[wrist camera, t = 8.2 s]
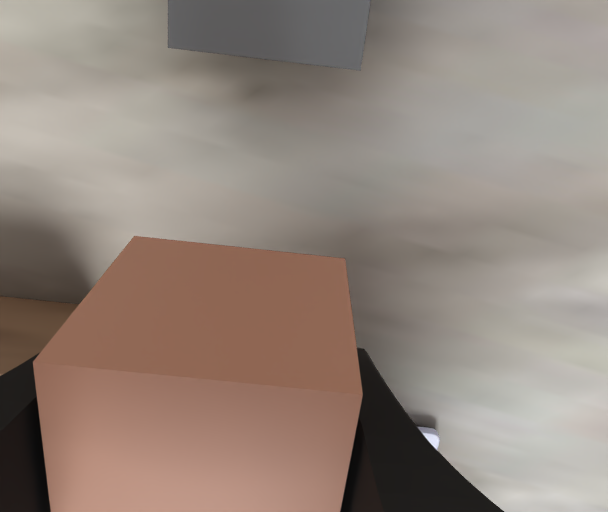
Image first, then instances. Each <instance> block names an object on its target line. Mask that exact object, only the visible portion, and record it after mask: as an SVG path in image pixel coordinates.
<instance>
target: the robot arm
mask: <svg viewBox="0 0 608 512" xmlns="http://www.w3.org/2000/svg"><path fill="white" fill-rule="evenodd" d="M40 353H41V352H40ZM40 353H38V354H37V355H35V356H33V357H32V358H30V359H28V360H27V361H25V362H24V363H22V364H20V365H19V366H17V367H15V368H13V369H12V370H10V371H8V372H6V373H5V374H3V375H1V376H0V512H51V509H50V501H49V493H48V484H47V476H46V468H45V459H44V451H43V443H42V435H41V426H40V418H39V410H38V401H37V393H36V385H35V377H34V368H33V361H34V360H35V359H36V357H37V356H38V355H39V354H40ZM357 354H358V362H359V369H360V377H361V385H362V392H363V396H362V402H361V407H360V412H359V417H358V422H357V427H356V433H355V438H354V443H353V448H352V453H351V458H350V463H349V469H348V474H347V479H346V484H345V489H344V494H343V500H342V505H341V510H340V512H504V511H503V510H501V509H500V508H499V507H498V506H496V505H495V504H494V503H493V502H491V501H490V500H489V499H488V498H487V497H486V496H485V495H483V494H482V493H481V492H480V491H479V490H478V489H477V488H475V487H474V486H473V485H472V484H471V483H470V482H469V481H467V480H466V479H465V478H464V477H463V476H462V475H461V474H460V473H459V472H458V471H457V470H456V469H455V468H454V467H453V466H452V465H451V464H450V463H449V462H448V461H447V460H446V459H445V458H444V457H443V456H442V455H441V454H440V453H439V452H438V451H437V450H438V446H439V442H440V438H439V434H438V432H437V431H436V430H435V429H433V428H427V427H417V426H416V425H415V424H414V422H413V421H412V420H411V418H410V417H409V416H408V415H407V413H406V412H405V410H404V409H403V408H402V406H401V405H400V403H399V402H398V401H397V399H396V398H395V396H394V395H393V394H392V392H391V391H390V389H389V388H388V386H387V385H386V383H385V381H384V380H383V378H382V377H381V375H380V373H379V372H378V370H377V369H376V367H375V365H374V364H373V362H372V360H371V358H370V357H369V355H368V353H367V352H366V351H365V350H364V349H361V348H357Z"/></svg>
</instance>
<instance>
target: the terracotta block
mask: <svg viewBox="0 0 608 512" xmlns="http://www.w3.org/2000/svg"><path fill="white" fill-rule="evenodd" d="M33 368H34V377H35V385H36V393H37V401H38V410H39V418H40V426H41V435H42V443H43V451H44V459H45V468H46V476H47V484H48V493H49V501H50V509H51V512H340V510H341V505H342V500H343V494H344V489H345V484H346V479H347V474H348V469H349V463H350V458H351V453H352V448H353V443H354V438H355V433H356V427H357V422H358V417H359V412H360V407H361V402H362V396H363V392H362V385H361V377H360V369H359V362H358V354H357V346H356V339H355V331H354V323H353V316H352V308H351V300H350V292H349V285H348V277H347V269H346V262H345V258H336V257H326V256H317V255H308V254H298V253H289V252H279V251H270V250H261V249H251V248H242V247H233V246H223V245H214V244H205V243H195V242H186V241H177V240H167V239H158V238H148V237H139V236H134V237H133V238H132V239H131V241H130V242H129V243H128V244H127V246H126V247H125V248H124V249H123V251H122V252H121V253H120V254H119V256H118V257H117V258H116V259H115V261H114V262H113V263H112V264H111V266H110V267H109V268H108V269H107V270H106V272H105V273H104V274H103V275H102V277H101V278H100V279H99V280H98V282H97V283H96V284H95V285H94V287H93V288H92V289H91V290H90V292H89V293H88V294H87V295H86V297H85V298H84V299H83V300H82V302H81V303H80V304H79V305H78V307H77V308H76V309H75V310H74V311H73V313H72V314H71V315H70V316H69V318H68V319H67V320H66V321H65V323H64V324H63V325H62V326H61V328H60V329H59V330H58V331H57V333H56V334H55V335H54V336H53V338H52V339H51V340H50V341H49V343H48V344H47V345H46V346H45V348H44V349H43V350H42V351H41V353H40V354H39V355H38V356H37V357H36V359H35V360H34V361H33Z"/></svg>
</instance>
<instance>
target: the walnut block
mask: <svg viewBox="0 0 608 512" xmlns="http://www.w3.org/2000/svg"><path fill="white" fill-rule="evenodd" d="M78 305H79V304H71V303H62V302H52V301H42V300H32V299H23V298H13V297H3V296H0V376H1V375H3V374H5V373H6V372H8V371H10V370H12V369H13V368H15V367H17V366H19V365H20V364H22V363H24V362H25V361H27V360H28V359H30V358H32V357H33V356H35V355H37V354H38V353H40V352H41V351H42V350H43V349H44V348H45V346H46V345H47V344H48V343H49V341H50V340H51V339H52V338H53V336H54V335H55V334H56V333H57V331H58V330H59V329H60V328H61V326H62V325H63V324H64V323H65V321H66V320H67V319H68V318H69V316H70V315H71V314H72V313H73V311H74V310H75V309H76V308H77V307H78Z"/></svg>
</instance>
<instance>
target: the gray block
mask: <svg viewBox="0 0 608 512" xmlns="http://www.w3.org/2000/svg"><path fill="white" fill-rule="evenodd" d="M370 3H371V0H168V48H175V49H183V50H191V51H200V52H208V53H217V54H225V55H233V56H242V57H250V58H259V59H267V60H275V61H284V62H292V63H301V64H309V65H317V66H326V67H334V68H343V69H351V70H359V71H361V64H362V57H363V51H364V44H365V37H366V30H367V23H368V17H369V10H370Z"/></svg>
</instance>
